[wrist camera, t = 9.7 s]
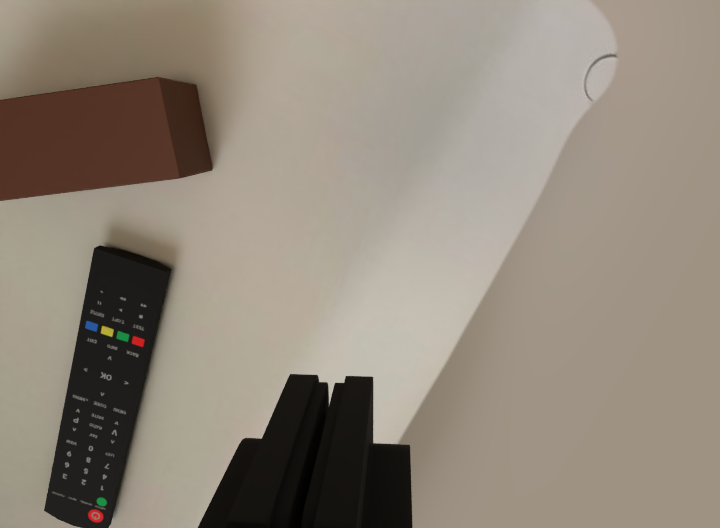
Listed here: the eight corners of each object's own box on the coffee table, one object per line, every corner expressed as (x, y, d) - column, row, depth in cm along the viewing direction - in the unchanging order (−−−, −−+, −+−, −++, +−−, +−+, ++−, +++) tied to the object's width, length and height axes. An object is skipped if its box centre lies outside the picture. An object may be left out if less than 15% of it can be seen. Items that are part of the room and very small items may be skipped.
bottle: (196, 84, 34) (-61, 121, 35) (158, 76, 28) (-143, 120, 30) (213, 170, 35) (-36, 201, 37) (180, 178, 30) (-109, 214, 31)
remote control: (174, 267, 37) (167, 272, 36) (113, 523, 44) (105, 535, 42) (104, 243, 37) (94, 248, 36) (53, 504, 43) (43, 516, 42)
